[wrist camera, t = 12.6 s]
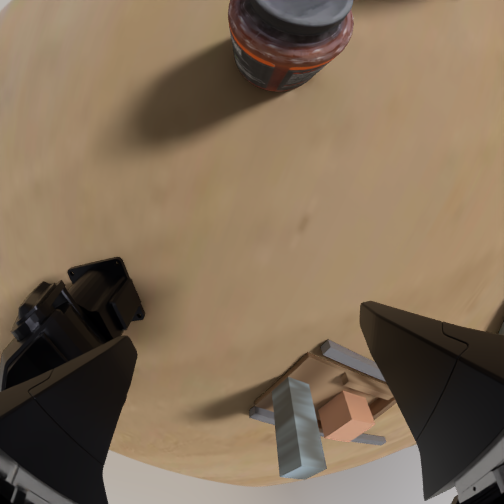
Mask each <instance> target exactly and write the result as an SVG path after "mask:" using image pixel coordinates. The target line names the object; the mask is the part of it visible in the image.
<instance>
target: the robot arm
mask: <svg viewBox="0 0 504 504" xmlns="http://www.w3.org/2000/svg"><path fill="white" fill-rule="evenodd" d="M116 261H117V262H118V263H119V265H118V264H117V263H116ZM72 272H73V273H74V274H73V273H72ZM68 275H69V277H70V279H71V281H72V284H73V285H72V286H71V287H70V289H69V290H68V291H67V289H66V288H65V284H64V283H63V281H62V280H61V281H59V282H58V283H56V284H55V283H54V284H48V283H46V282H42V283H41V284H40V285H39V286H38V287H37V288H36V289H35V290H34V291H33V292H32V293H31V294H30V295H29V296H28V297H27V298H26V299H25V300H24V302H23V303H22V304H21V306H20V307H19V315H18V317H17V319H16V321H15V324H14V326H13V328H12V330H11V333H12V334H13V335H14V337H15V338H14V339H13V340H12V342H11V343H10V344H9V345H8V346H7V347H6V348H5V350H4V351H3V353H2V357H1V363H0V504H108V501H107V496H106V492H105V487H104V482H103V475H102V474H103V467H104V466H103V465H104V463H105V460H106V457H107V453H108V450H109V447H110V444H111V440H112V437H113V434H114V431H115V428H116V425H117V422H118V419H119V416H120V413H121V410H122V407H123V405H124V403H125V401H126V398H127V393H128V390H129V387H130V384H131V380H132V376H133V372H134V368H135V364H136V360H137V351H136V349H135V347H134V345H133V343H132V341H131V339H130V338H129V337H128V336H121V335H122V333H123V331H124V330H127V328H128V326H129V324H130V322H131V321H137V320H143V319H144V317H145V312H144V310H143V308H142V305H141V301H140V298H139V296H138V294H137V291H136V289H135V287H134V284H133V282H132V280H131V279H130V277H129V275H128V272H127V270H126V267H125V265H124V262H123V260H122V259H121V258H120V257H114V258H110V259H105V260H101V261H97V262H92V263H88V264H84V265H80V266H75V267H72V268H70V269H69V270H68ZM139 314H141V315H139ZM360 327H361V329H362V332H363V335H364V337H365V340H366V342H367V345H368V348H369V350H370V353H371V355H372V357H373V359H374V361H375V363H376V364H377V366H378V368H379V370H380V372H381V374H382V376H383V377H384V379H385V381H386V383H387V385H388V387H389V389H390V391H391V393H392V395H393V397H394V398H395V400H396V402H397V404H398V406H399V408H400V410H401V412H402V414H403V416H404V418H405V420H406V422H407V424H408V426H409V428H410V430H411V432H412V435H413V437H414V439H415V441H416V443H417V445H418V448H419V451H420V456H421V466H422V476H423V492H424V500H425V501H426V500H428V499H430V498H432V497H435V496H437V495H439V494H440V493H443V492H445V491H447V490H449V489H451V488H452V487H454V486H455V487H456V490H457V492H458V495H457V496H455V497H454V499H453V501H452V503H451V504H504V335H501V334H495V333H490V332H485V331H480V330H475V329H470V328H466V327H461V326H457V325H454V324H450V323H446V322H441V321H438V320H435V319H431V318H428V317H424V316H421V315H417V314H414V313H410V312H407V311H404V310H400V309H397V308H393V307H390V306H387V305H383V304H380V303H377V302H373V301H367V302H363V303H361V305H360Z"/></svg>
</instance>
